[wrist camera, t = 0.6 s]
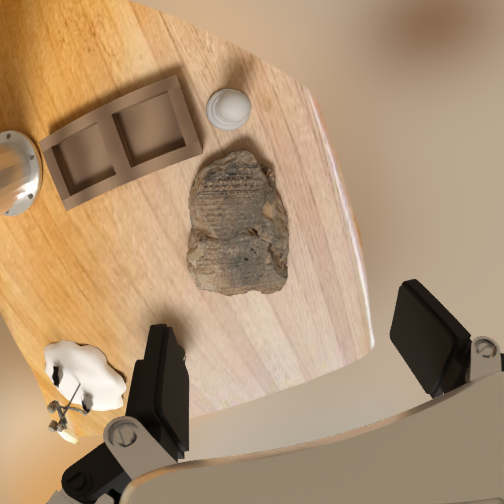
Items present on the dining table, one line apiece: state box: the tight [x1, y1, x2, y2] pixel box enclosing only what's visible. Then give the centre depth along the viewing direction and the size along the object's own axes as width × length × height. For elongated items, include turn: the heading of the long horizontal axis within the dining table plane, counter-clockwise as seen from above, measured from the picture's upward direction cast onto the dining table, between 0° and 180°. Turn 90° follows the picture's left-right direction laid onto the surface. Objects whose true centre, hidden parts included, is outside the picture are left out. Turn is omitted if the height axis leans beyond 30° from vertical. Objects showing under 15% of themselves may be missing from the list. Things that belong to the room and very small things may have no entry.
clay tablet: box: [187, 150, 289, 296], centre depth 39 cm, size 14×5×20 cm
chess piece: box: [206, 89, 251, 131], centre depth 30 cm, size 5×5×9 cm
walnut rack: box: [39, 75, 203, 211], centre depth 32 cm, size 19×10×3 cm, turn 106°
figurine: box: [44, 340, 126, 432], centre depth 42 cm, size 20×18×16 cm
